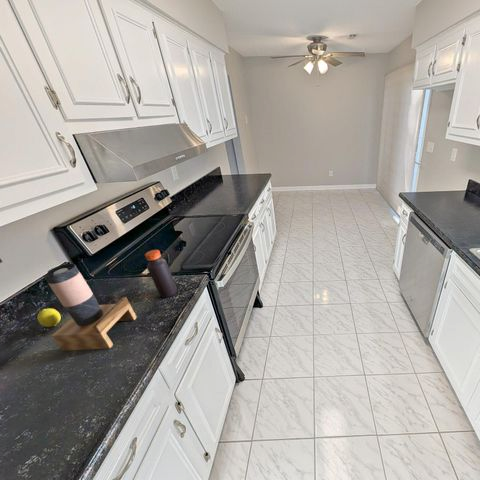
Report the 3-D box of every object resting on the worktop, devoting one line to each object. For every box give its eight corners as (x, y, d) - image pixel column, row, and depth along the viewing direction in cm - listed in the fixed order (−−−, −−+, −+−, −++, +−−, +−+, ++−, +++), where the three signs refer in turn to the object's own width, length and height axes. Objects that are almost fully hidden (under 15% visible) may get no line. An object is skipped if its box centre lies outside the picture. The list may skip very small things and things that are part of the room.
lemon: (43, 333, 92) (30, 317, 88) (46, 324, 96) (34, 308, 92) (63, 326, 94) (52, 310, 91) (66, 317, 98) (54, 302, 95)
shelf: (63, 350, 84) (46, 328, 79) (95, 319, 96) (83, 299, 92) (110, 348, 84) (96, 326, 79) (137, 317, 96) (126, 296, 92)
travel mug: (108, 313, 88) (80, 265, 79) (83, 329, 82) (49, 279, 73) (96, 308, 91) (68, 261, 82) (71, 323, 85) (37, 274, 76)
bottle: (172, 297, 105) (155, 256, 96) (156, 298, 106) (138, 257, 96) (180, 287, 111) (165, 248, 102) (165, 288, 112) (148, 249, 102)
